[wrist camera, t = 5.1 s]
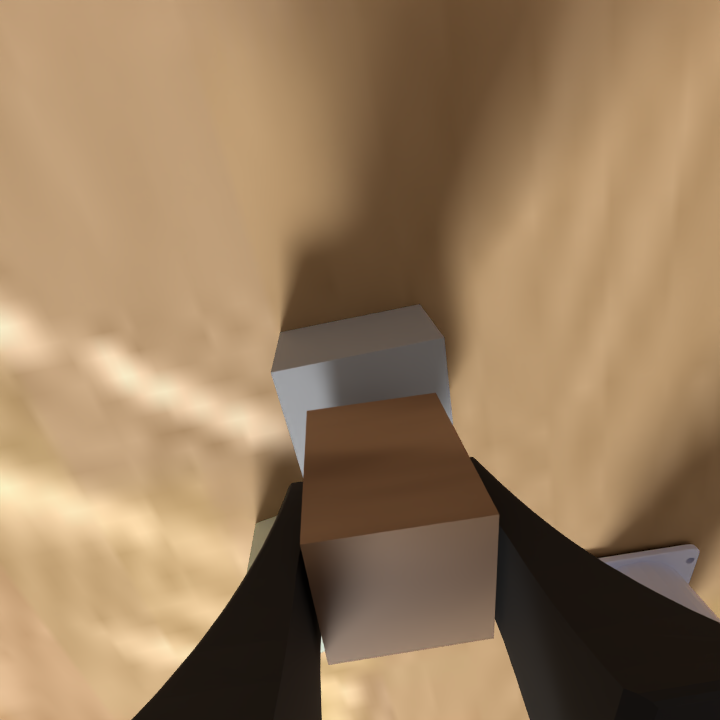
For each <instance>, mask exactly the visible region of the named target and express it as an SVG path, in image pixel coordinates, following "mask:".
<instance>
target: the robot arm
mask: <svg viewBox="0 0 720 720" xmlns="http://www.w3.org/2000/svg"><path fill="white" fill-rule="evenodd" d="M470 459H471V461H472V463H473V465H474V467H475V469H476V471H477V473H478V474H479V476H480V478H481V480H482V482H483V484H484V486H485V488H486V490H487V492H488V494H489V496H490V497H491V499H492V501H493V503H494V505H495V507H496V509H497V511H498V513H499V534H498V556H497V578H496V600H495V620H496V623H497V625H498V628H499V630H500V633H501V635H502V638H503V640H504V643H505V646H506V649H507V652H508V655H509V658H510V661H511V664H512V667H513V670H514V673H515V676H516V678H517V681H518V684H519V688H520V691H521V694H522V697H523V700H524V703H525V706H526V709H527V712H528V715H529V718H530V720H720V619H719V618H718V617H717V616H716V615H715V614H714V613H713V611H712V610H711V609H710V608H709V607H708V606H707V605H706V604H705V602H704V601H703V600H702V599H701V598H700V597H699V596H698V594H697V593H696V592H695V591H694V590H693V589H692V588H691V587H690V585H689V582H690V579H691V576H692V573H693V571H694V568H695V565H696V562H697V559H698V556H699V552H700V551H699V549H698V548H697V547H696V546H695V545H693V544H687V545H680V546H674V547H667V548H661V549H654V550H648V551H641V552H635V553H628V554H622V555H615V556H609V557H602V558H596V557H595V556H593V555H592V554H590V553H589V552H587V551H586V550H584V549H583V548H581V547H580V546H578V545H577V544H575V543H574V542H572V541H571V540H570V539H568V538H567V537H565V536H564V535H563V534H561V533H560V532H559V531H557V530H556V529H555V528H553V527H552V526H551V525H549V524H548V523H547V522H546V521H544V520H543V519H542V518H540V517H539V516H538V515H537V514H536V513H534V512H533V511H532V510H531V509H530V508H528V507H527V506H526V505H525V504H524V503H523V502H521V501H520V500H519V499H518V498H517V497H516V496H514V495H513V494H512V493H511V492H510V491H509V490H508V489H507V488H505V487H504V486H503V485H502V484H501V483H500V482H499V481H498V480H497V479H496V478H495V477H494V476H493V475H491V474H490V473H489V472H488V471H487V470H486V469H485V468H484V467H483V466H482V465H481V464H480V463H479V462H478V461H477V460H476V459H475V458H473V457H470ZM302 494H303V482H296V483H292V484H291V485H290V486H289V488H288V490H287V493H286V496H285V498H284V501H283V503H282V506H281V508H280V511H279V513H278V515H277V517H276V519H275V522H274V524H273V526H272V528H271V530H270V532H269V534H268V536H267V538H266V540H265V542H264V544H263V546H262V548H261V550H260V551H259V553H258V555H257V557H256V558H255V560H254V562H253V564H252V566H251V567H250V569H249V571H248V573H247V574H246V576H245V578H244V579H243V581H242V582H241V584H240V586H239V587H238V589H237V590H236V592H235V593H234V595H233V596H232V598H231V599H230V601H229V602H228V604H227V605H226V607H225V608H224V610H223V611H222V613H221V614H220V615H219V617H218V618H217V619H216V621H215V622H214V624H213V625H212V626H211V628H210V629H209V630H208V632H207V633H206V634H205V636H204V637H203V638H202V640H201V641H200V642H199V644H198V645H197V646H196V647H195V649H194V650H193V651H192V652H191V654H190V655H189V656H188V657H187V658H186V659H185V661H184V662H183V663H182V664H181V665H180V667H179V668H178V669H177V670H176V671H175V672H174V674H173V675H172V676H171V677H170V678H169V680H168V681H167V682H166V683H165V684H164V685H163V687H162V688H161V689H160V690H159V691H158V692H157V693H156V694H155V696H154V697H153V698H152V699H151V700H150V701H149V702H148V703H147V704H146V705H145V706H144V707H143V708H142V709H141V710H140V711H139V713H138V714H137V715H136V716H135V717H134V718H133V719H132V720H322V715H321V680H320V654H321V632H320V627H319V623H318V619H317V615H316V611H315V606H314V602H313V598H312V594H311V589H310V585H309V581H308V577H307V573H306V568H305V564H304V560H303V556H302V552H301V547H300V532H301V513H302Z"/></svg>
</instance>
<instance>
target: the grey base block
mask: <svg viewBox="0 0 720 720" xmlns="http://www.w3.org/2000/svg"><path fill="white" fill-rule="evenodd" d="M271 375H272V378H273V381H274V384H275V388H276V391H277V394H278V397H279V401H280V404H281V407H282V411H283V414H284V417H285V420H286V424H287V427H288V430H289V433H290V437H291V440H292V443H293V446H294V450H295V453H296V456H297V459H298V463H299V466H300V469H301V472H302V476H303V474H304V455H305V435H306V416H307V411H309V410H316V409H323V408H330V407H337V406H345V405H352V404H359V403H366V402H373V401H380V400H387V399H394V398H402V397H409V396H416V395H423V394H430V393H436V394H437V396H438V398H439V400H440V402H441V404H442V405H443V407H444V409H445V411H446V413H447V415H448V417H449V419H450V421H451V423H452V425H453V421H452V410H451V400H450V390H449V380H448V370H447V360H446V350H445V339H444V336H443V335H442V334H441V332H440V331H439V330H438V328H437V327H436V326H435V324H434V323H433V322H432V320H431V319H430V317H429V316H428V315H427V313H426V312H425V311H424V309H423V308H422V307H421V305H420V304H418V305H413V306H408V307H403V308H398V309H393V310H388V311H383V312H378V313H373V314H368V315H363V316H358V317H353V318H348V319H343V320H338V321H333V322H328V323H323V324H318V325H313V326H309V327H304V328H299V329H294V330H289V331H284V332H280V335H279V340H278V344H277V348H276V353H275V357H274V361H273V365H272V370H271Z"/></svg>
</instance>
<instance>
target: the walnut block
mask: <svg viewBox="0 0 720 720" xmlns="http://www.w3.org/2000/svg"><path fill="white" fill-rule="evenodd" d="M498 534H499V513H498V511H497V509H496V507H495V505H494V503H493V501H492V499H491V497H490V496H489V494H488V492H487V490H486V488H485V486H484V484H483V482H482V480H481V478H480V476H479V474H478V473H477V471H476V469H475V467H474V465H473V463H472V461H471V459H470V457H469V455H468V453H467V451H466V450H465V448H464V446H463V444H462V442H461V440H460V438H459V436H458V434H457V432H456V430H455V428H454V427H453V425H452V423H451V421H450V419H449V417H448V415H447V413H446V411H445V409H444V407H443V405H442V404H441V402H440V400H439V398H438V396H437V394H436V393H430V394H423V395H416V396H409V397H402V398H394V399H387V400H380V401H373V402H366V403H359V404H352V405H345V406H337V407H330V408H323V409H316V410H309V411H307V416H306V435H305V455H304V474H303V494H302V513H301V532H300V547H301V552H302V556H303V560H304V564H305V568H306V573H307V577H308V581H309V585H310V589H311V594H312V598H313V602H314V606H315V611H316V615H317V619H318V623H319V627H320V632H321V636H322V640H323V644H324V649H325V653H326V657H327V661H328V665H332V664H338V663H344V662H350V661H356V660H362V659H369V658H375V657H381V656H387V655H393V654H399V653H406V652H412V651H418V650H424V649H430V648H436V647H443V646H449V645H455V644H461V643H467V642H473V641H480V640H486V639H492V638H494V622H495V600H496V578H497V556H498Z"/></svg>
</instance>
